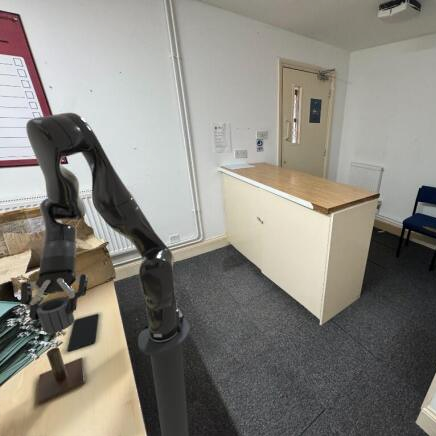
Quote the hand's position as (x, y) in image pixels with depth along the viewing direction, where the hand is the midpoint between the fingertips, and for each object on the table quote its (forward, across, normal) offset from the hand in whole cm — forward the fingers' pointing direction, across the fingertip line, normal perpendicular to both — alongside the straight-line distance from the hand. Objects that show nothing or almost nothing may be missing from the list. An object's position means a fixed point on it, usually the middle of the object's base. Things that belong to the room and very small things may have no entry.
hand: (53, 316), depth 64 cm
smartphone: (+4, +1, +22) cm, 23 cm away
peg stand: (+17, 0, +9) cm, 19 cm away
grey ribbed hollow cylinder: (+2, 0, +4) cm, 5 cm away
